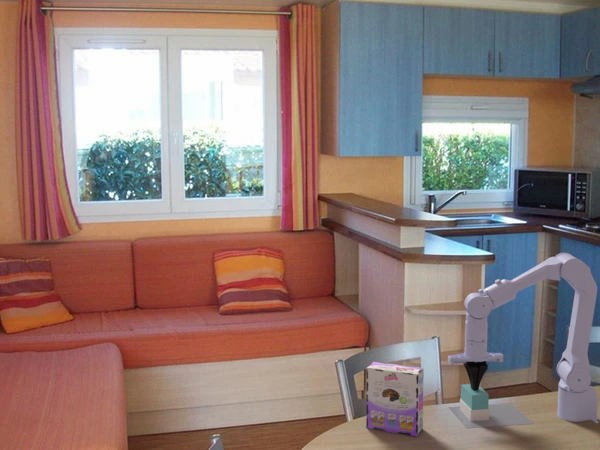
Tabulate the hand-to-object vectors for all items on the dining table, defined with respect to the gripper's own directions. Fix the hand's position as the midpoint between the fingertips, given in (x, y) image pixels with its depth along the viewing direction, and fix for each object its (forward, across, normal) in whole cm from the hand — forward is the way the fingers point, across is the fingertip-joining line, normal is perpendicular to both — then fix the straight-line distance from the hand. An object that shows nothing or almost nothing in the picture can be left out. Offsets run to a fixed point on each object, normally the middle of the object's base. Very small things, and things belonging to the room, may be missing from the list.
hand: (474, 388), depth 195 cm
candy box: (+8, +23, +3) cm, 24 cm away
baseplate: (+8, -4, +1) cm, 9 cm away
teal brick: (+4, 0, 0) cm, 4 cm away
